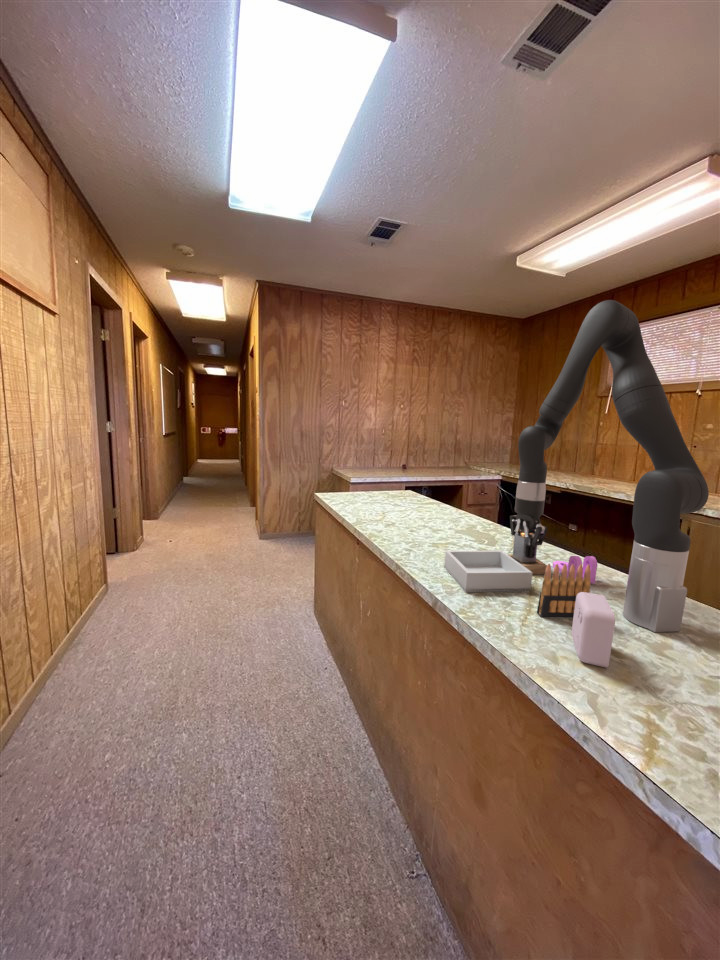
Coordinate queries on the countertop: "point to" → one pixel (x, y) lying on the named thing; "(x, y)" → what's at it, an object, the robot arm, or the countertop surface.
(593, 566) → the pink humped piece
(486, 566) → the bin
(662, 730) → the countertop surface
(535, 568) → the socket block
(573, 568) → the ammunition clip
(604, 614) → the electronic device
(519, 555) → the grey upright block
